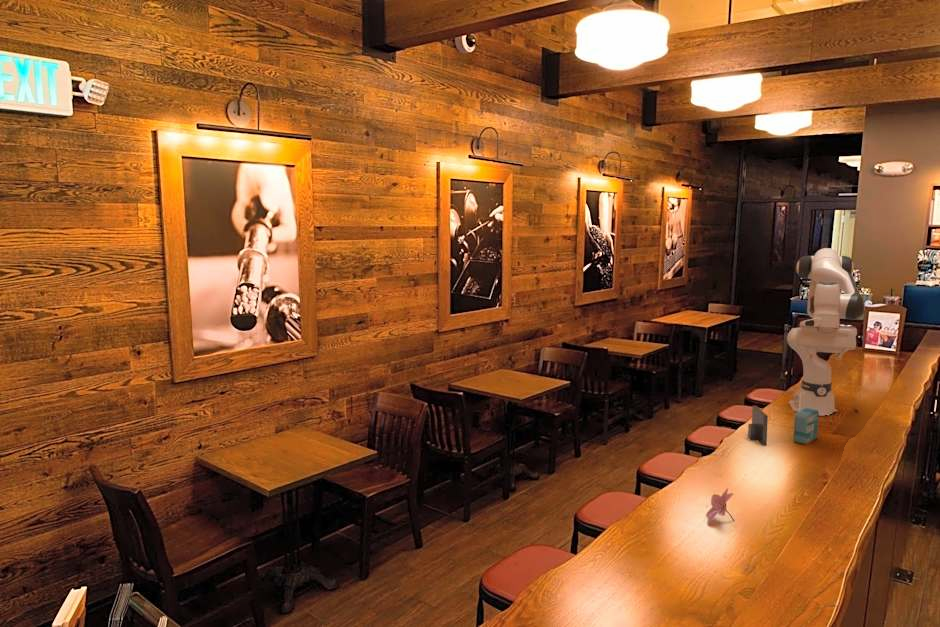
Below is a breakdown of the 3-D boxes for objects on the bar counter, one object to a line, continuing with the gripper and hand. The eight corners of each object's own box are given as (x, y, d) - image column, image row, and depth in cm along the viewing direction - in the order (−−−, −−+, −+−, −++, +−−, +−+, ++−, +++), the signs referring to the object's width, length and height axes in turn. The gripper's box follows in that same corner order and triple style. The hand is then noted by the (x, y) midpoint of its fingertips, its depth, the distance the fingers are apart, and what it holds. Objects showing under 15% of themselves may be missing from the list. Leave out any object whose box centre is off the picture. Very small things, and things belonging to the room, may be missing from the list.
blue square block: (805, 445, 245) (806, 415, 243) (793, 442, 248) (794, 413, 246) (817, 438, 252) (819, 409, 251) (805, 435, 256) (807, 407, 254)
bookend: (743, 433, 260) (745, 405, 258) (755, 433, 259) (756, 405, 258) (754, 445, 246) (755, 415, 244) (766, 445, 246) (767, 415, 244)
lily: (715, 511, 194) (700, 486, 192) (752, 506, 186) (737, 480, 185) (706, 538, 185) (690, 511, 183) (744, 534, 177) (729, 507, 176)
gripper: (855, 326, 237) (854, 362, 236) (795, 322, 244) (793, 358, 243) (859, 324, 231) (857, 362, 230) (797, 321, 239) (795, 357, 238)
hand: (824, 360), depth 237 cm, fingers open, 8 cm apart
